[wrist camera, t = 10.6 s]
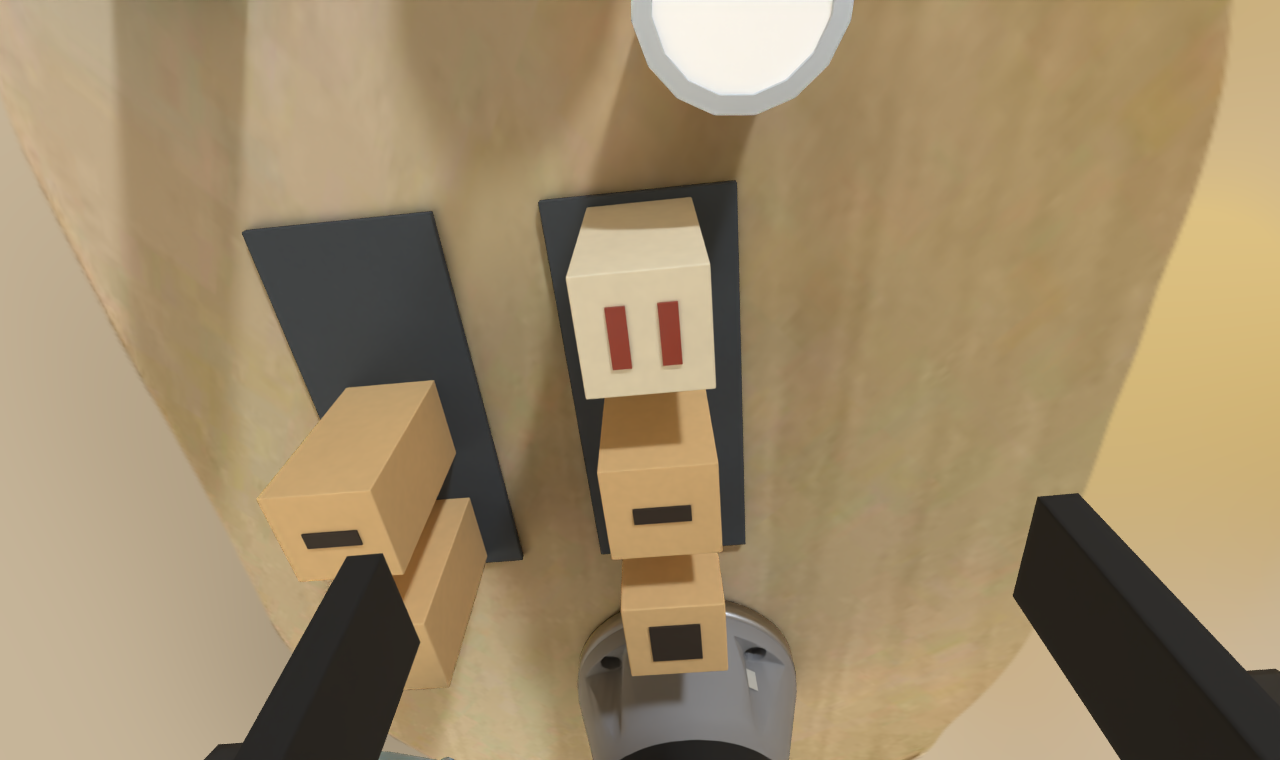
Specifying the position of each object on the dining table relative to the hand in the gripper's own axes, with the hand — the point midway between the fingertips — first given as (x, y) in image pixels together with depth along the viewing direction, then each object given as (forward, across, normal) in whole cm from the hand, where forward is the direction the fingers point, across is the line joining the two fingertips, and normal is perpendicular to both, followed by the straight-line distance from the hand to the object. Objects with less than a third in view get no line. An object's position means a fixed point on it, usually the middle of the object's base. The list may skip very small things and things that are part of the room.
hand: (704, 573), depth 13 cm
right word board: (+20, +1, +7) cm, 21 cm away
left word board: (+20, +15, +7) cm, 26 cm away
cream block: (+19, +1, -1) cm, 19 cm away
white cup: (+20, -3, -11) cm, 23 cm away
